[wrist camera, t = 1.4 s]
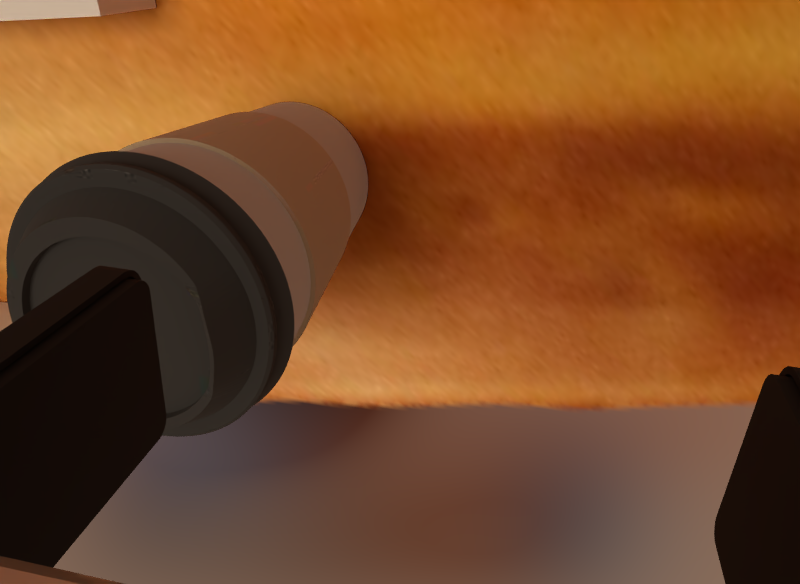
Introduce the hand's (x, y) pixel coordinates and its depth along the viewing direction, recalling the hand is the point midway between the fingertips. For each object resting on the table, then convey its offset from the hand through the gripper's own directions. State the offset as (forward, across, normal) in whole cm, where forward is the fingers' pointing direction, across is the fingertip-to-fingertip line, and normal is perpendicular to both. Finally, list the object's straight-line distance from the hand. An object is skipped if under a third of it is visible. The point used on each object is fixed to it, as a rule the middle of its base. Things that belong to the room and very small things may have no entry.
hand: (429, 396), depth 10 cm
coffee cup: (+21, +10, +4) cm, 23 cm away
